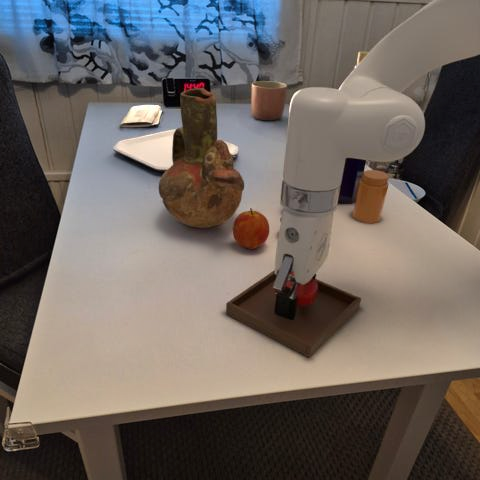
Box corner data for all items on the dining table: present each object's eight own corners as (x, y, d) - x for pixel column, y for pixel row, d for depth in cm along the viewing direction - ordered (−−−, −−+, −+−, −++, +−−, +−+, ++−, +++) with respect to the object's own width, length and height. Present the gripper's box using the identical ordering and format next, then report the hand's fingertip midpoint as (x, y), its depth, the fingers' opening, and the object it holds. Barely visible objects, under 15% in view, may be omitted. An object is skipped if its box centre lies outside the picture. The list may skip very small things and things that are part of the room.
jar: (384, 216, 99) (395, 174, 93) (372, 225, 95) (383, 182, 89) (360, 208, 102) (369, 167, 96) (347, 217, 98) (356, 174, 92)
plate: (184, 133, 143) (184, 126, 141) (248, 157, 127) (249, 149, 126) (104, 152, 126) (103, 144, 125) (167, 181, 111) (167, 173, 109)
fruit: (253, 234, 90) (255, 196, 85) (275, 248, 86) (279, 210, 81) (225, 243, 87) (225, 205, 82) (246, 258, 82) (248, 219, 78)
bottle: (360, 192, 110) (390, 51, 91) (356, 207, 103) (388, 57, 84) (323, 186, 112) (345, 48, 93) (317, 200, 105) (339, 53, 86)
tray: (359, 308, 71) (361, 298, 70) (309, 357, 62) (311, 346, 61) (281, 274, 79) (282, 264, 77) (225, 314, 69) (226, 303, 68)
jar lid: (293, 277, 72) (295, 267, 71) (325, 295, 68) (327, 285, 67) (265, 292, 68) (266, 282, 67) (296, 311, 65) (298, 301, 63)
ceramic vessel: (192, 262, 81) (187, 115, 65) (143, 207, 98) (130, 81, 83) (271, 242, 88) (284, 105, 72) (212, 194, 105) (212, 76, 90)
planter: (267, 124, 155) (269, 89, 148) (243, 116, 162) (244, 83, 155) (291, 118, 162) (294, 85, 155) (267, 111, 169) (269, 79, 162)
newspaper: (158, 128, 146) (156, 120, 145) (121, 131, 147) (119, 123, 145) (166, 110, 164) (164, 103, 162) (133, 113, 164) (131, 105, 163)
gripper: (312, 226, 51) (294, 343, 62) (356, 180, 63) (335, 285, 74) (254, 211, 54) (246, 326, 65) (307, 169, 66) (293, 272, 77)
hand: (294, 303), depth 69 cm, fingers closed on jar lid, 6 cm apart
